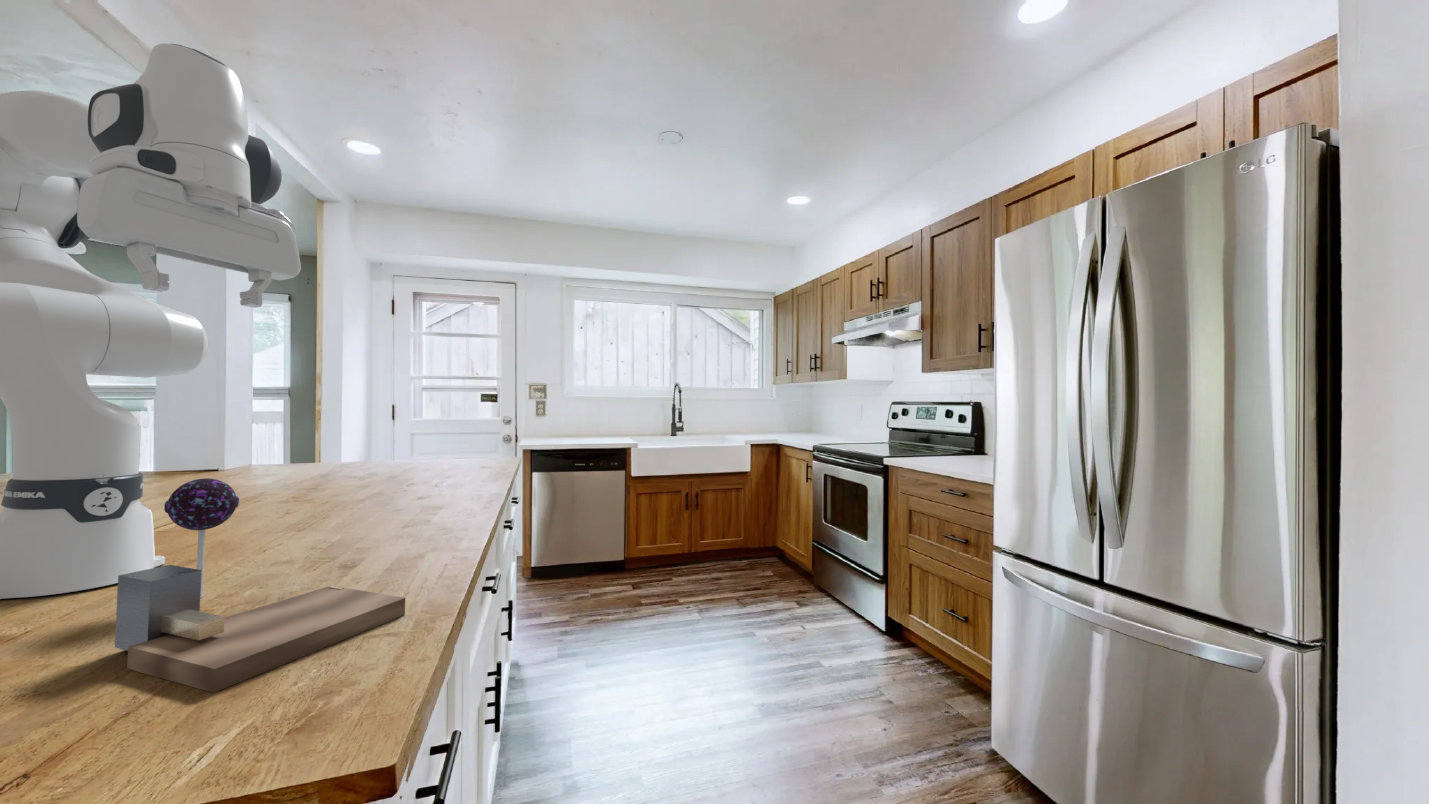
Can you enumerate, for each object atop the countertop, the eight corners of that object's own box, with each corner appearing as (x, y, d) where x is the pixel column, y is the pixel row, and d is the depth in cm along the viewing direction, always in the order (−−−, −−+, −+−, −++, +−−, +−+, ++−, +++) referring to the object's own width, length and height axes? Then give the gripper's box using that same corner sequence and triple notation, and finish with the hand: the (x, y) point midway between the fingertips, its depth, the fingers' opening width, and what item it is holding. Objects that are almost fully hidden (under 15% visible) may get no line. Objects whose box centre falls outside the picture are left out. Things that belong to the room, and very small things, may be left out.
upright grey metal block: (114, 647, 52) (118, 575, 53) (167, 631, 56) (170, 564, 56) (184, 665, 49) (187, 588, 49) (234, 647, 53) (237, 576, 53)
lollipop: (188, 610, 64) (194, 483, 64) (144, 604, 65) (150, 480, 65) (249, 591, 70) (254, 476, 71) (208, 586, 72) (213, 474, 72)
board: (127, 668, 49) (128, 645, 49) (330, 601, 67) (331, 584, 68) (213, 692, 46) (214, 667, 46) (404, 614, 64) (405, 596, 64)
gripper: (277, 220, 75) (281, 317, 75) (65, 152, 56) (69, 283, 55) (309, 211, 74) (314, 310, 73) (102, 138, 54) (106, 272, 53)
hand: (207, 298), depth 64 cm, fingers open, 8 cm apart
